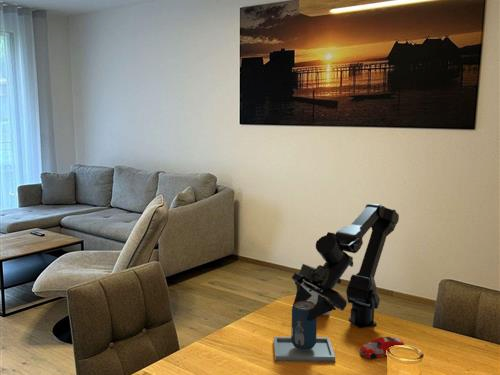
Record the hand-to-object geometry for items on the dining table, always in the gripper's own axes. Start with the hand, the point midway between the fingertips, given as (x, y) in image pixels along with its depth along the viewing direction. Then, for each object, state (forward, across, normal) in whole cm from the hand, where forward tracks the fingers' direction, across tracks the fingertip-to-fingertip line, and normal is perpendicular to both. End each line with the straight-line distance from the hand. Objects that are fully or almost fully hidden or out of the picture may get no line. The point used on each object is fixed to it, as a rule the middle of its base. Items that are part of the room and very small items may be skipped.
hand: (300, 315), depth 126 cm
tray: (+7, 0, +8) cm, 11 cm away
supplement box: (-7, -20, +24) cm, 32 cm away
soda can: (+6, 0, +8) cm, 10 cm away
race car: (-6, +11, +22) cm, 26 cm away
